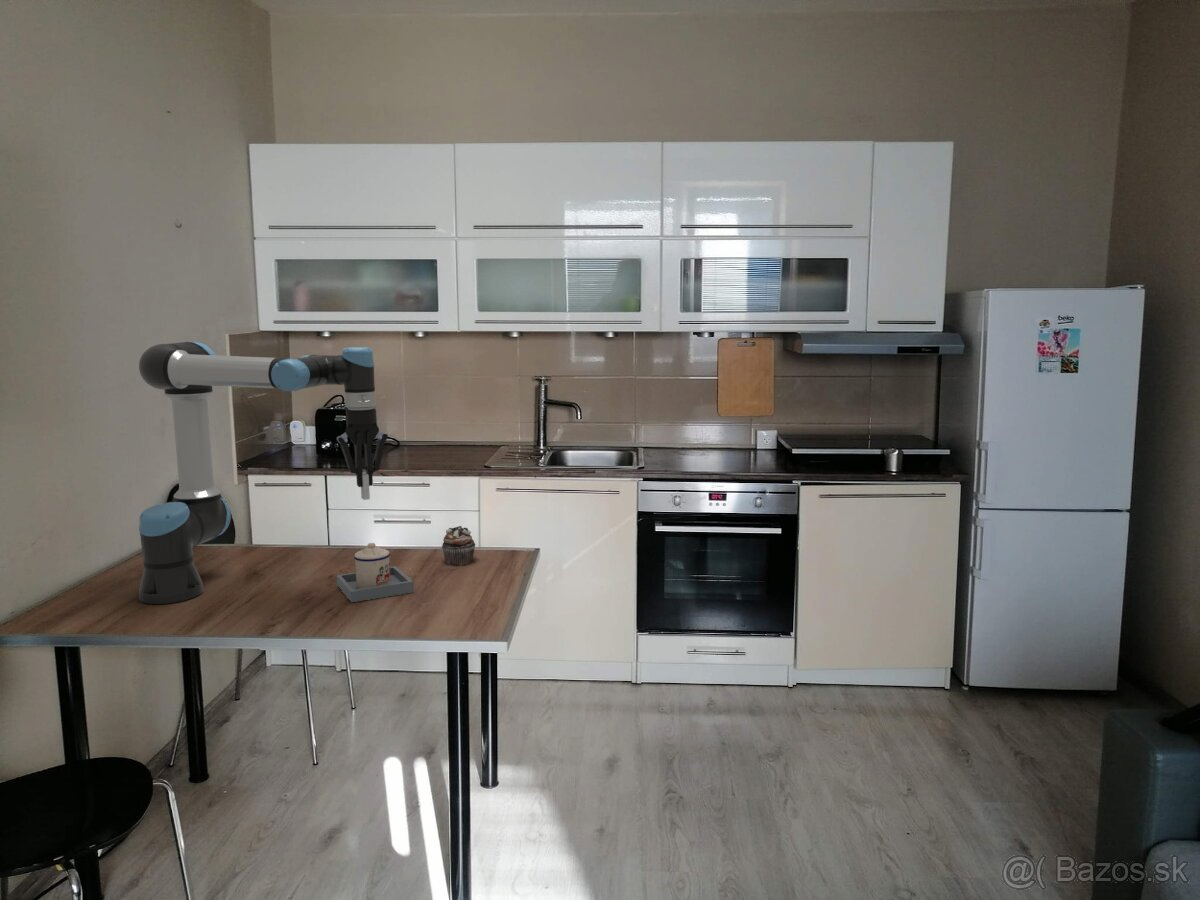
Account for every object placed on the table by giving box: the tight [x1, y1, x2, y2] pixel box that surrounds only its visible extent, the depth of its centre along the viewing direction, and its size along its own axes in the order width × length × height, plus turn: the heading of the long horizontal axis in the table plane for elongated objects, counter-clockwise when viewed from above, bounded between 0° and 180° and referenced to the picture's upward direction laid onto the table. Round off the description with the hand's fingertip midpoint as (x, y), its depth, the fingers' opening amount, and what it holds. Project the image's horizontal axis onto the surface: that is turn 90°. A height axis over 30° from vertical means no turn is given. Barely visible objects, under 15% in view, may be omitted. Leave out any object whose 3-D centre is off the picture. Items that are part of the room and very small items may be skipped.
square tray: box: [336, 565, 415, 603], centre depth 236 cm, size 16×16×3 cm
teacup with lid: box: [353, 542, 391, 589], centre depth 236 cm, size 12×9×12 cm
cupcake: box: [441, 525, 476, 566], centre depth 260 cm, size 10×10×10 cm
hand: (365, 498), depth 233 cm, fingers closed
